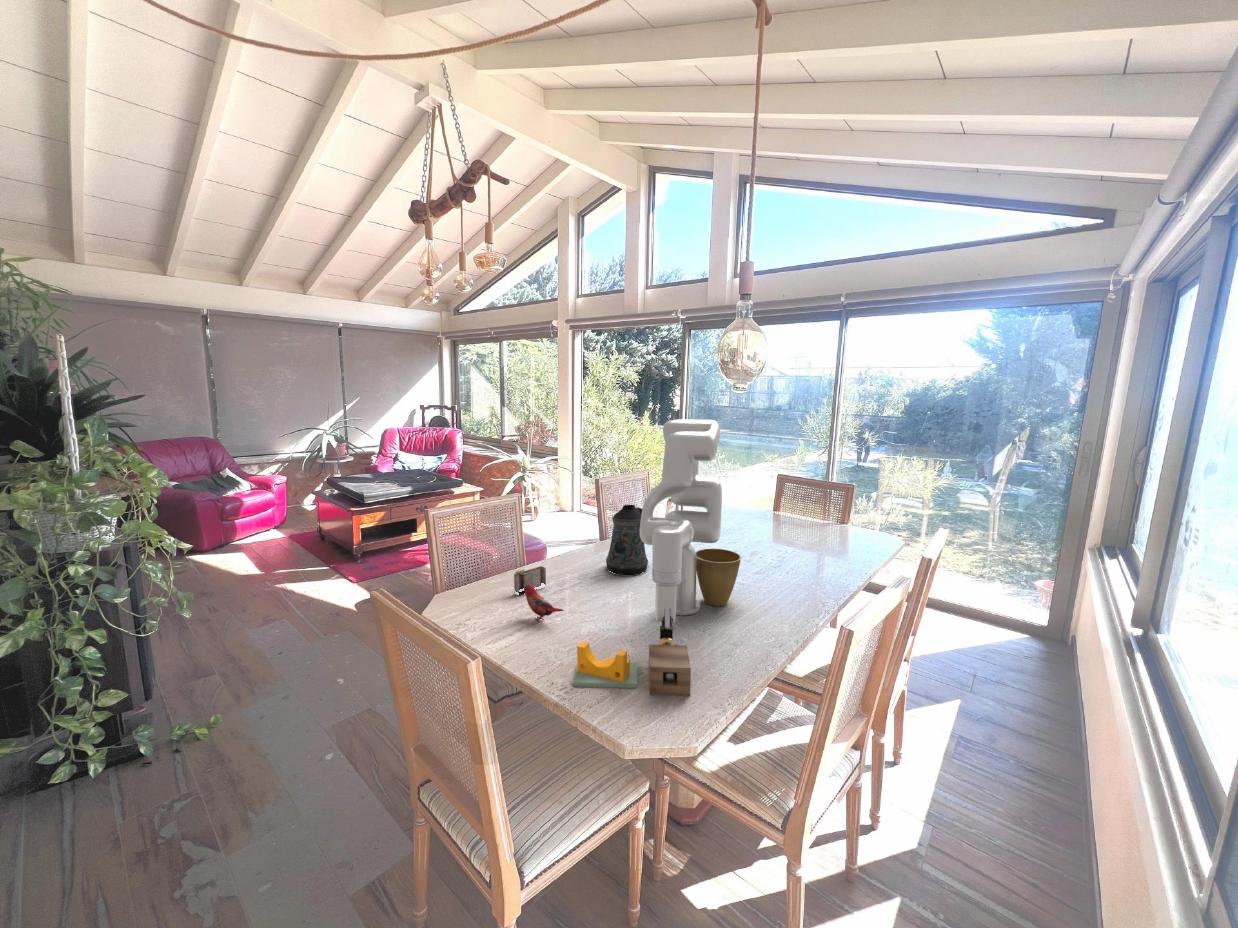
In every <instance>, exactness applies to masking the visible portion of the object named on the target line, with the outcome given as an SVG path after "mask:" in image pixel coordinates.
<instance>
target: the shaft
mask: <svg viewBox="0 0 1238 928" xmlns="http://www.w3.org/2000/svg"><path fill="white" fill-rule="evenodd" d="M658 645H676V644H675V641H674V638H673V639H672V638H670V637H663V638H662V639H661V640H660V639H659V642H658ZM664 675H665V680H666V681H667V682H668V683H672V682H674V681H675V673H673V672H664Z"/></svg>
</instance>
